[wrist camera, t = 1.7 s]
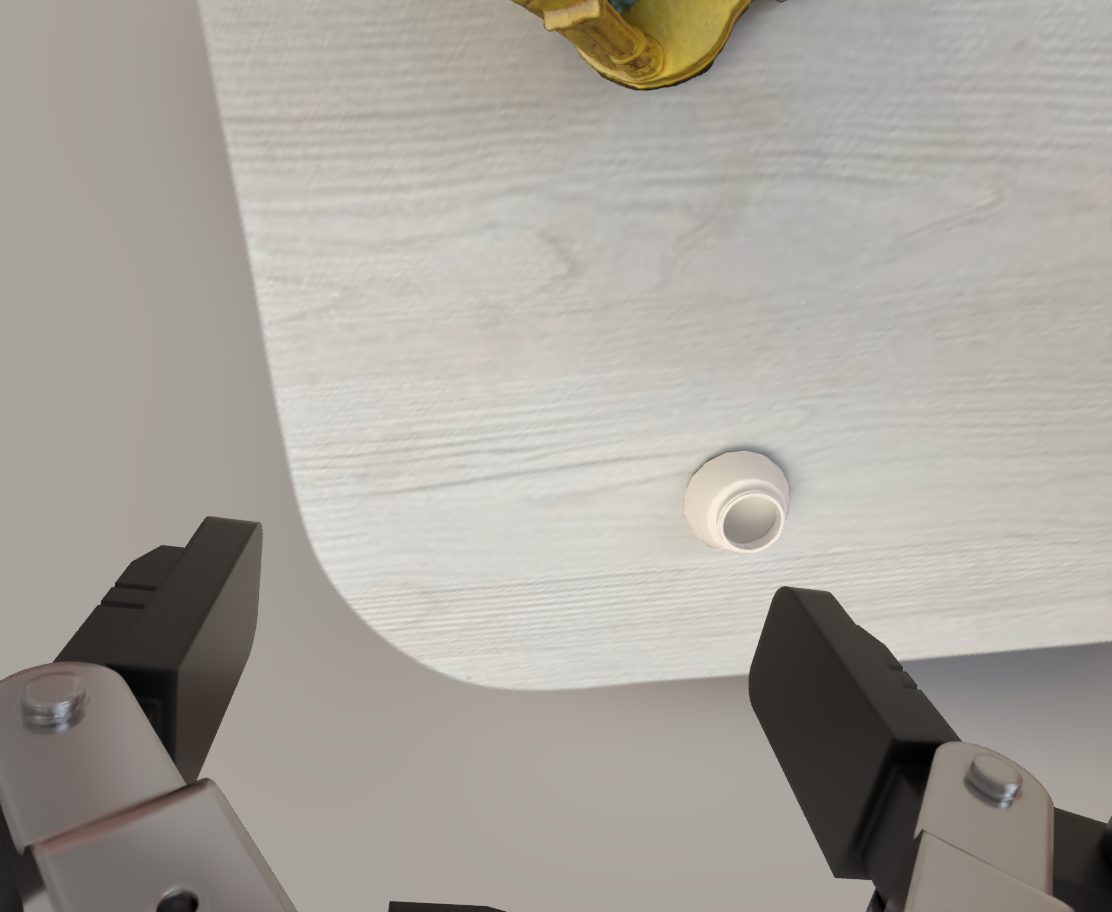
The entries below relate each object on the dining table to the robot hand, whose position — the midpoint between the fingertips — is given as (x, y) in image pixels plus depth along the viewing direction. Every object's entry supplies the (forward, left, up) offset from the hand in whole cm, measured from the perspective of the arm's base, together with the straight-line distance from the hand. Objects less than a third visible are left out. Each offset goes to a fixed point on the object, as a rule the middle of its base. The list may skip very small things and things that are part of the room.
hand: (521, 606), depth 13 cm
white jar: (+14, -4, -24) cm, 28 cm away
